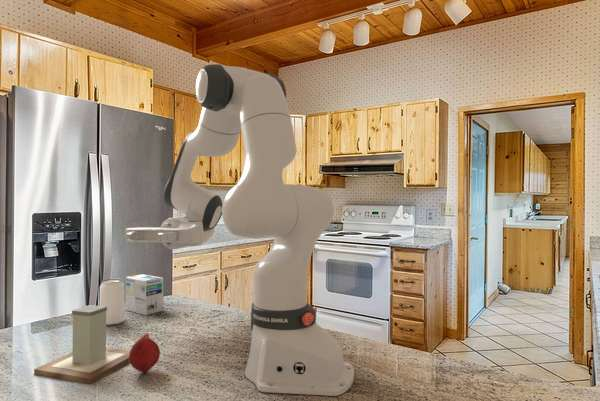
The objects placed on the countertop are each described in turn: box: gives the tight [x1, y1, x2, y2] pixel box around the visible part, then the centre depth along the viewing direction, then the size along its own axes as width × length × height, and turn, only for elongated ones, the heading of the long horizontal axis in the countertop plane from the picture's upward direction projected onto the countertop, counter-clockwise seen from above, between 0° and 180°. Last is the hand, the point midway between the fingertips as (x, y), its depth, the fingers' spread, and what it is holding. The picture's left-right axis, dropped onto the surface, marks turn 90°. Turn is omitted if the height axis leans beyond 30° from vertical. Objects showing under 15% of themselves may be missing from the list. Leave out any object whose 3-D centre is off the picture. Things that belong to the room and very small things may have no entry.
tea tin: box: [71, 304, 107, 365], centre depth 87 cm, size 5×5×11 cm
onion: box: [129, 333, 161, 374], centre depth 83 cm, size 6×6×8 cm
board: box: [33, 347, 131, 384], centre depth 87 cm, size 14×14×1 cm
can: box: [99, 278, 125, 326], centre depth 116 cm, size 6×6×12 cm
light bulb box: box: [125, 273, 164, 316], centre depth 129 cm, size 11×7×11 cm, turn 58°
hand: (144, 236), depth 101 cm, fingers open, 8 cm apart
